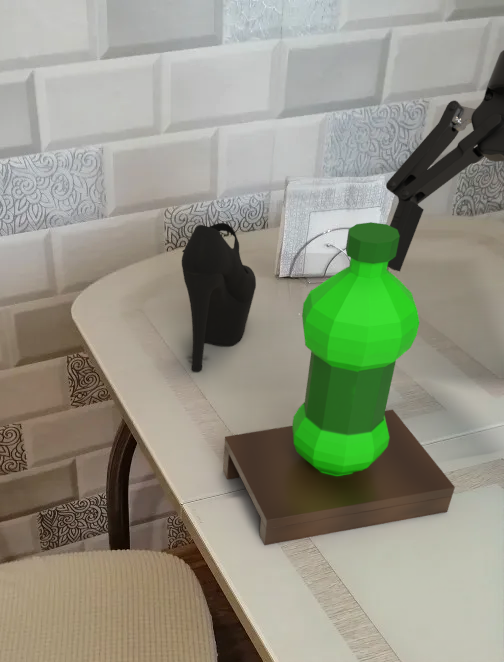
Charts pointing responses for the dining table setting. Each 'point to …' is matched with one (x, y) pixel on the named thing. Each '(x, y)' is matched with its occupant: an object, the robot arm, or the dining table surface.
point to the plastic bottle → (353, 354)
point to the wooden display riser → (334, 484)
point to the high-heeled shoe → (216, 289)
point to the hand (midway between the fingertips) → (451, 282)
